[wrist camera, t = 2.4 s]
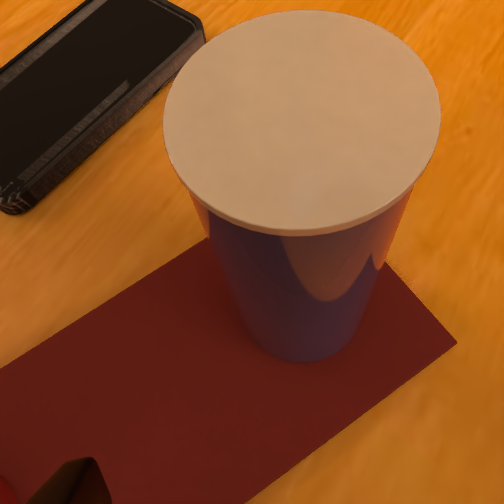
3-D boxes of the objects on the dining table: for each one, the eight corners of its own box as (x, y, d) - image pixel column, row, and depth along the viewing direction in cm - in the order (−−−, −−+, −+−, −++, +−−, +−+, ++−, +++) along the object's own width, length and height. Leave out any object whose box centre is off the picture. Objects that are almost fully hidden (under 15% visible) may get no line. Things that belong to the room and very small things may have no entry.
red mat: (-102, 763, 16) (-117, 774, 15) (-167, 482, 20) (-180, 482, 19) (453, 345, 19) (458, 342, 19) (306, 180, 23) (306, 173, 23)
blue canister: (355, 378, 19) (429, 253, 8) (223, 350, 20) (124, 204, 9) (373, 254, 21) (450, 19, 10) (252, 234, 22) (202, 0, 11)
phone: (-84, 135, 25) (118, -27, 29) (-69, 148, 26) (124, -10, 30) (3, 213, 23) (212, 24, 27) (16, 224, 24) (215, 40, 28)
